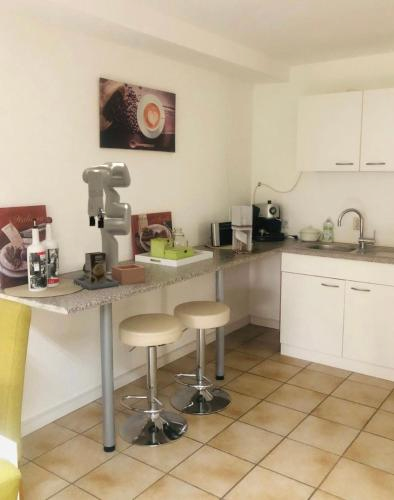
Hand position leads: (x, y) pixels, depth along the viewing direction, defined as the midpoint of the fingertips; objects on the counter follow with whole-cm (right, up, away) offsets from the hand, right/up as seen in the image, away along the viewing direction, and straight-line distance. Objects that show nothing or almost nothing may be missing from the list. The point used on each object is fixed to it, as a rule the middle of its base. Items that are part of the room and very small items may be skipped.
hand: (96, 227), depth 258 cm
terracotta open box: (+15, -29, +12) cm, 35 cm away
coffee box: (-1, -30, +4) cm, 30 cm away
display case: (+85, -14, +114) cm, 143 cm away
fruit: (-8, -27, +25) cm, 37 cm away
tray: (-1, -30, +4) cm, 30 cm away
